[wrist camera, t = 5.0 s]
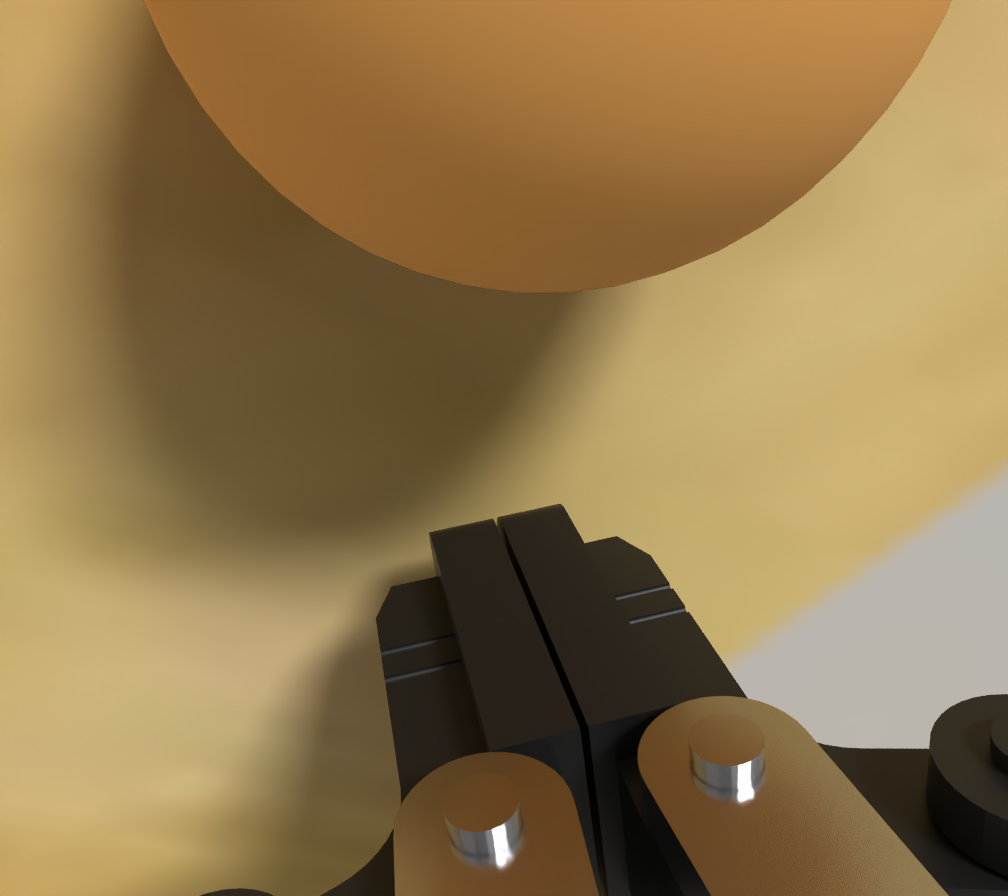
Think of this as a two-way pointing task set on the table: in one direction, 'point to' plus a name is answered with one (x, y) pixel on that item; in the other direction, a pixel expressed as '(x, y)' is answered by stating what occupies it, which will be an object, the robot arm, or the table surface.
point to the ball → (545, 120)
